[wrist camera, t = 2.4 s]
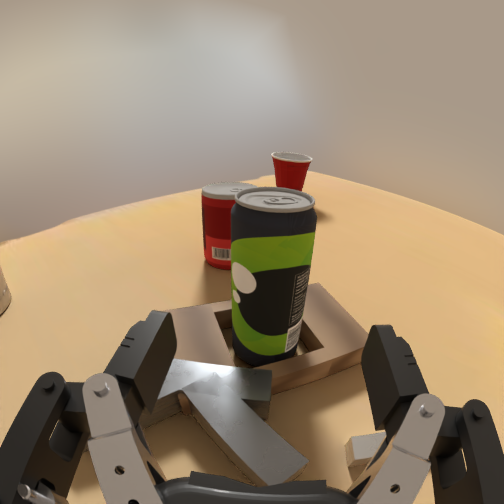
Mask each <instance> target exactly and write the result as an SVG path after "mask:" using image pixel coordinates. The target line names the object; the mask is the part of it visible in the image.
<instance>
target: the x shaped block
mask: <svg viewBox="0 0 504 504" xmlns="http://www.w3.org/2000/svg"><path fill="white" fill-rule="evenodd" d="M271 383H272V370H266V369H253V368H242V367H232V366H223V365H215V364H208V363H200V362H194V361H187V360H181V359H175V358H174V359H173V361H172V364H171V366H170V369H169V371H168V374H167V376H166V379H165V381H164V384H163V386H162V389H161V391H160V394H159V396H158V399H157V401H156V404H155V406H154V409H153V411H152V414H151V415H147V414H143V413H141V416H140V418H139V422H140V424H141V427H142V429H144V428H146V427H149V426H151V425H153V424H155V423H157V422H160V421H162V420H164V419H166V418H168V417H170V416H172V415H174V414H176V413H179V412H181V411H182V408H181V405H180V402H179V398H178V394H179V393H182V394H184V395H185V396H186V397H187V400H188V404H189V407H190V411H191V414H192V415H193V416H194V418H195V419H196V420H197V421H198V423H199V424H200V425H201V426H202V428H203V429H204V430H205V431H206V433H207V434H208V435H209V436H210V437H211V438H212V440H213V441H214V442H215V443H216V444H217V445H218V447H219V448H220V449H221V450H222V451H223V452H224V453H225V454H226V455H227V457H228V458H229V459H230V460H231V461H232V462H233V463H234V464H235V465H236V466H237V467H238V468H239V469H240V470H241V471H242V472H243V473H244V474H245V475H246V476H247V477H248V478H249V479H250V480H251V481H252V482H253V483H254V484H255V485H256V486H257V487H264V486H270V485H276V484H281V483H286V482H291V481H293V480H294V479H295V478H296V477H298V476H299V475H300V474H301V473H302V472H303V470H304V469H305V467H306V466H307V464H308V462H309V460H308V459H307V458H305V457H304V456H303V455H302V454H301V453H299V452H298V451H297V450H296V449H295V448H293V447H292V446H291V445H290V444H289V443H288V442H286V441H285V440H284V439H283V438H282V437H281V436H280V435H279V434H277V433H276V432H275V431H274V430H273V429H272V428H271V427H270V426H269V425H268V424H266V423H265V422H264V421H263V420H267V419H268V413H269V406H270V398H271ZM89 438H91V433H90V435H89ZM89 438H88V439H89ZM88 450H89V447H88V440H87V443H86V445H85V448H84V450H83V452H85V451H88Z"/></svg>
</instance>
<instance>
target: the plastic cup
mask: <svg viewBox="0 0 504 504" xmlns="http://www.w3.org/2000/svg"><path fill="white" fill-rule="evenodd" d="M271 156H272V158H273V162H274V168H275V178H276V186H277V187H280V188H288V189H293V190H298V191H302V188H303V185H304V181H305V177H306V173H307V170H308V167H309V164H310V162H311V161H312V158H311V157H309V156H306V155H302V154H297V153H290V152H275V153H272V154H271Z"/></svg>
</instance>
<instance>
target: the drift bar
mask: <svg viewBox="0 0 504 504" xmlns="http://www.w3.org/2000/svg"><path fill="white" fill-rule="evenodd" d="M385 436H386V432H382V433H376V434H369V435H362V436H354V437H351V438H350V439H349V441H348V442H347V443H346V445H345V451H346V459H347V466H348V467H352V466H359V465H365V464H368V463H369V462H370V460H371V458H372V457H373V455H374V454H375V452H376V451H377V449H378V447H379V446H380V444H381V442H382V441H383V439H384V437H385Z"/></svg>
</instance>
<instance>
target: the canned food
mask: <svg viewBox="0 0 504 504" xmlns="http://www.w3.org/2000/svg"><path fill="white" fill-rule="evenodd" d="M255 187H257V186H255V185H252V184H248V183H240V182H222V183H214V184H210V185H207V186H205V187H203V188H202V222H203V241H204V255H205V258H206V261H207V262H208V263H209V264H210V265H211V266H213V267H216V268H219V269H225V270H231V209H232V207H233V205H234V204H235V203H236V201H235V194H236V193H237V192H239V191H241V190H244V189H248V188H255Z"/></svg>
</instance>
